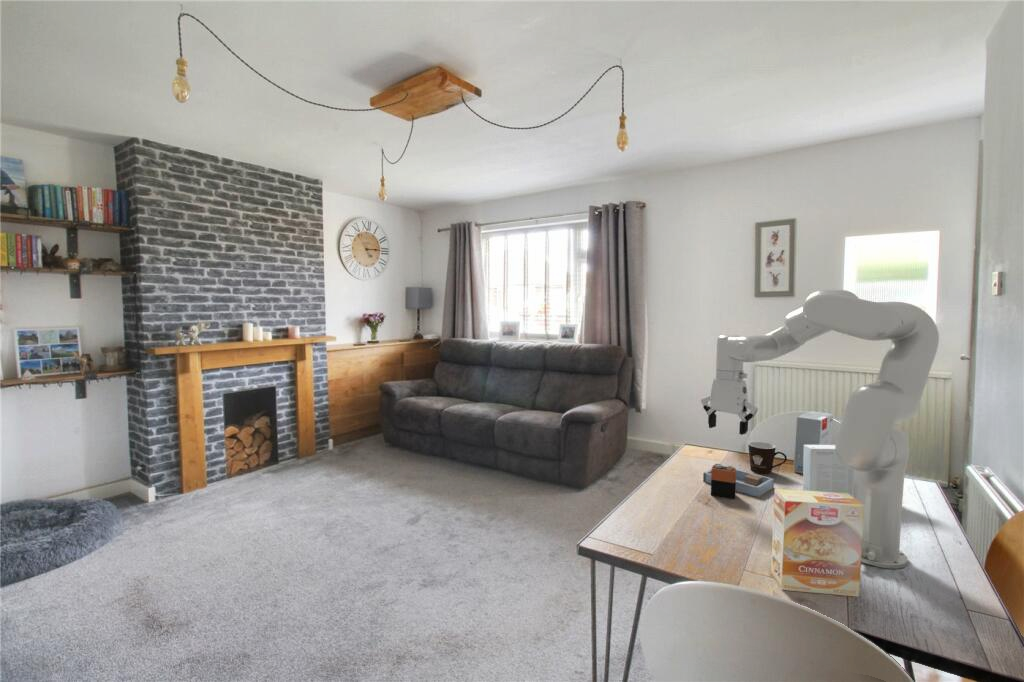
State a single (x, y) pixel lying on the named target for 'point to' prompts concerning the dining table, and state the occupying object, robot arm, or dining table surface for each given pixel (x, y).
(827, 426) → the hard drive box
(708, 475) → the bin
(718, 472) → the battery
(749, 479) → the walnut block
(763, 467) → the coffee mug
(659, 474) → the dining table surface
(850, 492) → the skincare box
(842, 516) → the coffeecake box
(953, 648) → the dining table surface
